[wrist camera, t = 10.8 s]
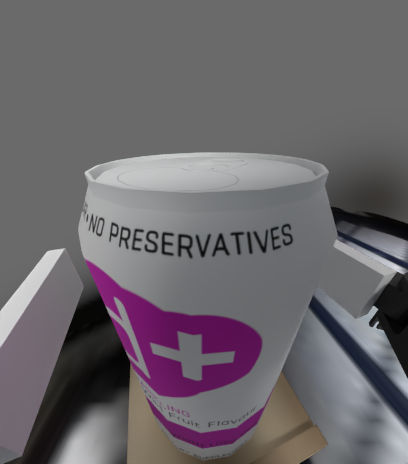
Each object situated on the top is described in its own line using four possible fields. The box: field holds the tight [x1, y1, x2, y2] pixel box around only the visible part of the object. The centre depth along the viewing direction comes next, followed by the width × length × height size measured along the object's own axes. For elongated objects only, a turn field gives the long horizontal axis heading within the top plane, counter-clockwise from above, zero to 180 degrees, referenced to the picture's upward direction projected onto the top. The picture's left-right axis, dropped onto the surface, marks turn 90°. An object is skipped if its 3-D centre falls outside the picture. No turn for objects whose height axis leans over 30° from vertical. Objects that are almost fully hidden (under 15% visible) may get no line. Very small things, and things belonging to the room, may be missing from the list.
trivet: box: [127, 365, 328, 464], centre depth 13 cm, size 11×11×1 cm
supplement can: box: [78, 153, 338, 460], centre depth 10 cm, size 8×8×15 cm
